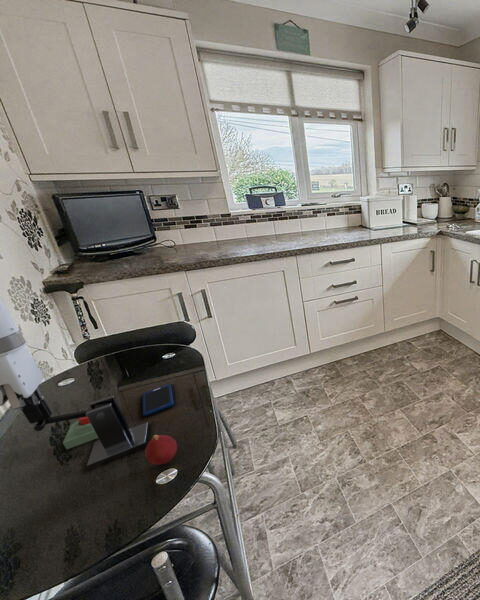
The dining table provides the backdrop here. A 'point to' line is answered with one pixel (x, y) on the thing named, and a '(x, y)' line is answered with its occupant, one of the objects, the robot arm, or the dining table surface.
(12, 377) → the robot arm
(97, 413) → the lever bracket
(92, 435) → the button housing
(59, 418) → the press lever
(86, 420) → the red button
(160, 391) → the cell phone
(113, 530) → the dining table surface
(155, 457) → the onion
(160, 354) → the dining table surface
